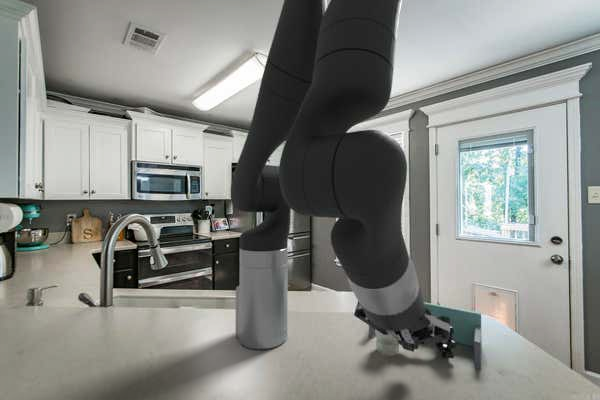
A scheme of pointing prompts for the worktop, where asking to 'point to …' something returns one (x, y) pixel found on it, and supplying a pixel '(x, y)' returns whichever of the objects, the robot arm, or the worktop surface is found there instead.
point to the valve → (391, 345)
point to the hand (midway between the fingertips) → (409, 344)
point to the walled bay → (458, 327)
